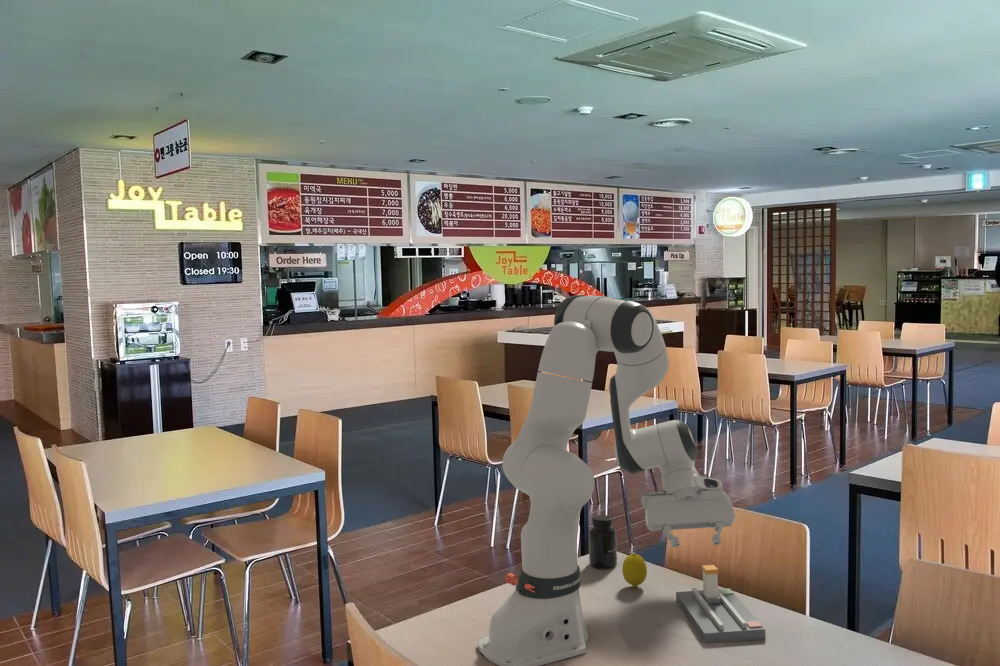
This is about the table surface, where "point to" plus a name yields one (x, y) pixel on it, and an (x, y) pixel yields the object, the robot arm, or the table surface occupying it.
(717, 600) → the breaker lever
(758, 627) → the switch panel
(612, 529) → the supplement bottle
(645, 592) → the table surface
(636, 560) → the lemon
